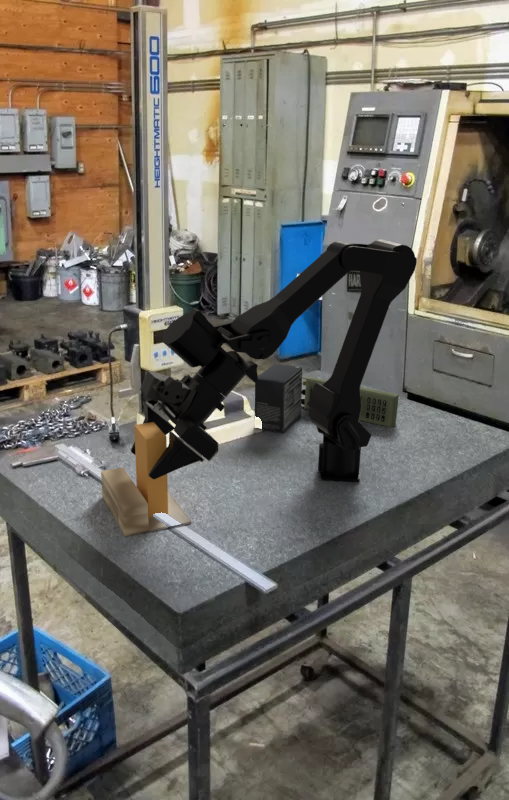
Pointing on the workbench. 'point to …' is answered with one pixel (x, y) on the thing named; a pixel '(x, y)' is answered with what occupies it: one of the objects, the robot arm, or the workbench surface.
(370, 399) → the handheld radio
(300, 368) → the small box
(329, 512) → the workbench surface
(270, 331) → the robot arm
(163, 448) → the orange l-shaped bookend
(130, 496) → the wooden block on plate
